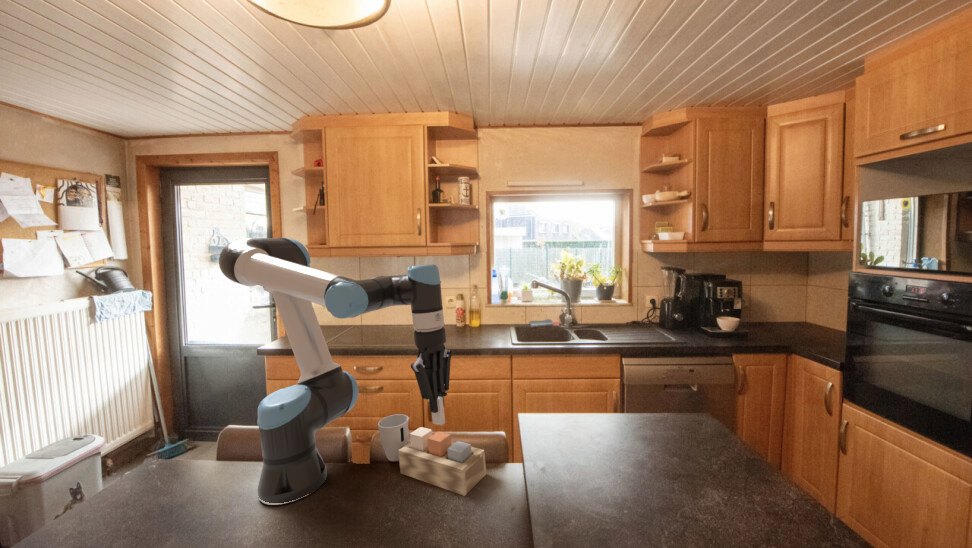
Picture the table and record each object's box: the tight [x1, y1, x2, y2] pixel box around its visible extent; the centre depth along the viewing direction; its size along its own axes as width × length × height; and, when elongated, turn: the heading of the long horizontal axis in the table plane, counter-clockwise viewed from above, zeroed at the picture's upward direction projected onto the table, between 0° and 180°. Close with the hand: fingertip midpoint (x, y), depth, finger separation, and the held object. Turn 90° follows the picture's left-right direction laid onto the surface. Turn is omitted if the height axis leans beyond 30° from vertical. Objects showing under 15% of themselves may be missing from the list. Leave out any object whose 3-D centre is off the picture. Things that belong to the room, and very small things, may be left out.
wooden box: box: [398, 441, 487, 497], centre depth 92 cm, size 20×9×6 cm, turn 57°
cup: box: [377, 413, 410, 462], centre depth 102 cm, size 8×8×10 cm
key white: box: [409, 426, 434, 452], centre depth 95 cm, size 4×4×6 cm
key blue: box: [447, 440, 472, 463], centre depth 89 cm, size 4×4×6 cm
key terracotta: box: [428, 430, 452, 458], centre depth 92 cm, size 4×4×6 cm
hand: (439, 423), depth 91 cm, fingers closed
